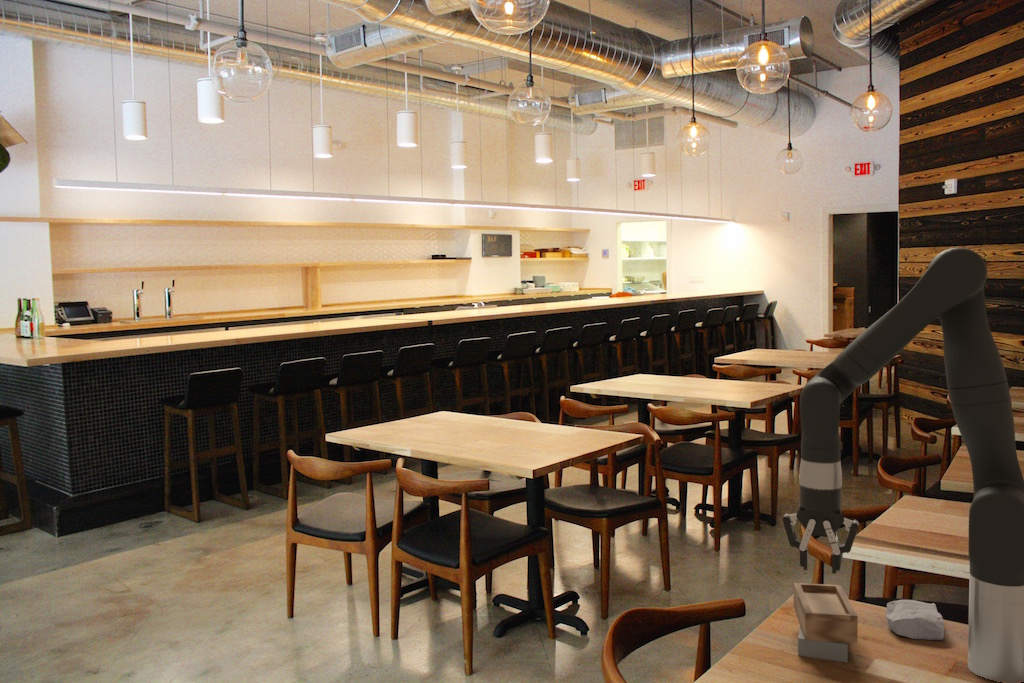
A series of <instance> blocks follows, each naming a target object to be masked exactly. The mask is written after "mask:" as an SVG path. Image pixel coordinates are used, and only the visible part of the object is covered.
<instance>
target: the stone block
mask: <svg viewBox="0 0 1024 683" xmlns="http://www.w3.org/2000/svg"><path fill="white" fill-rule="evenodd" d="M885 619H886V620H887V624H888V627H889V629H890V630H891V631H892V632H893V633H895V634H896V635H898V636H900V637H901V636H903V637H906V638H909V639H911V640H912V639H914V640H928V641H943V640H944V638H945V633H944V632H945V622H944V617H943V616H942V614H941V613H940V612H938V609H937V605H936V604H935V603H934V602H933V603H928V602H924V601H918V600H915V599H898V600H893V601H889V602H887V603H886V610H885Z"/></svg>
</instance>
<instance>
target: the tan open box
mask: <svg viewBox="0 0 1024 683" xmlns="http://www.w3.org/2000/svg"><path fill="white" fill-rule="evenodd" d="M793 609H794V612H795V616H796V618H797V622H798V624H799V628H800V627H801V630H802V633H803V635H804V638H805V640H807V641H822V642H838V643H848V644H856V645H858V628H859V627H858V618H859V616H858V615H857V611H856V610H855V608H854V607H853V605H852V603H851V601H850V600H849V597H848V595H847V593H846V591H845V589H844V588H843V586H842V585H841V584H827V583H826V584H823V583H806V582H805V583H804V582H801V583H800V582H793Z"/></svg>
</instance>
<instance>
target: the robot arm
mask: <svg viewBox="0 0 1024 683" xmlns="http://www.w3.org/2000/svg"><path fill="white" fill-rule="evenodd" d="M987 278H988V267H987V264H986V262H985V259H983V257H982V256H981V255H980V254H979V253H978V252H976V251H974V250H972V249H970V248H966V247H953V248H948V249H945V250H943V251H941V252H939V253H938V254H936V255H935V256H934V257H933V258H932V260H931V261H930V262H929V264H928V266H927V269H926V271H925V272H924V273H923V274H922V275H921V277H920V278H919V280H918V281H917V282H916V283H915V284H914V286H912V288H911V289H910V290H909V291H908V292H907V294H905V295H904V297H903V298H902V299H900V300H899V301H898V303H896V304H895V305H894V306H893V307H892V308H891V309H889V310H888V311H887V312H886V313H885V314H883V315H882V316H881V317H879V319H877V320H876V321H874V322H873V323H872V324H871V325H870V326H868V327H867V328H866V329H865V330H864V331H862V332H861V333H860V334H859V335H858V336H857V337H856V338H855V339H854V340H852V341H851V342H850V343H849V344H848V345H847V346H846V347H845V348H844V349H843V350H842V351H841V352H840V353H839V354H838V355H837V356H836V357H835V359H834V360H833V361H831V362H830V363H829V364H828V365H826V366H825V367H824V368H823V369H821V370H820V371H818V372H817V373H816V374H815V375H814V376H813V377H812V378H810V379H809V380H808V381H807V382H806V384H805V385H804V386H803V388H802V390H801V392H800V396H799V410H800V415H799V416H800V424H801V439H800V440H801V441H800V465H799V476H798V483H799V490H798V491H799V496H798V497H799V499H798V500H799V502H798V503H799V508H798V510H797V512H796V513H790V514H789V513H787V512H786V513H784V515H783V516H782V522H783V525H784V529H785V533H786V537H787V539H788V542H789V546H790V547H791V548H796V549H798V550H799V565H800V567H803V570H804V571H808V569H809V548H808V545H809V542H810V539H811V537H812V536H813V537H816V536H817V537H818V536H820V537H823V538H827V539H828V542H829V543H830V544H829V545H830V546H831V549H832V555H831V556H832V557H831V561H832V562H831V568H832V569H831V572H832V574H837V571H838V572H840V571H841V570H840V569H841V566H842V565H841V562H842V560H841V559H842V556H841V555H842V554H846V553H847V554H849V553H850V552H851V551H852V548H853V544H854V542H855V538H856V535H857V532H858V529H859V525H860V524H859V522H860V521H859V520H857V519H853V520H852V519H849V518H847V517H845V516H844V514H843V511H842V504H843V503H842V502H843V501H842V497H843V496H842V495H843V494H842V491H843V488H842V487H843V486H842V485H843V474H842V473H843V471H842V470H843V469H842V462H841V460H842V459H841V435H840V433H839V432H840V431H839V430H840V428H839V427H840V412H841V411H840V410H841V404H842V403H843V402H844V401H845V399H846V398H848V396H850V395H851V394H852V393H853V392H854V391H855V390H856V389H857V388H858V387H860V386H862V385H864V384H866V383H867V382H868V381H870V380H871V379H872V378H873V377H874V376H876V375H877V374H878V373H879V372H880V371H881V370H882V369H883V368H884V367H886V366H887V365H888V364H889V363H890V362H891V361H892V360H893V359H894V358H895V357H896V356H897V355H899V353H901V352H902V350H904V348H905V347H907V346H908V345H909V344H910V342H912V340H913V339H915V338H916V337H917V336H918V335H919V334H920V333H921V332H922V331H923V330H924V329H925V328H927V327H928V326H929V325H930V324H931V323H933V322H934V321H935V320H936V319H938V318H939V322H940V325H941V326H940V327H941V331H942V332H941V333H942V342H943V359H944V370H945V378H946V385H947V390H948V391H947V392H948V397H949V401H950V407H951V410H952V413H953V417H954V419H955V420H954V421H955V423H956V425H957V428H958V431H959V433H960V436H961V437H962V440H963V443H964V445H965V447H966V450H967V453H968V455H969V460H970V461H969V462H970V465H971V473H972V482H973V484H972V486H973V499H972V501H971V504H970V506H969V509H968V510H969V512H968V552H967V554H968V561H969V575H968V576H969V585H968V586H969V587H968V588H969V589H968V629H967V630H968V631H967V632H968V634H967V636H968V638H967V667H968V670H969V671H970V672H971V673H973V674H974V675H975V676H977V675H978V676H977V677H979V676H981V677H980V678H982V677H984V678H986V679H985V680H987V679H991V680H995V681H1000V682H1006V683H1017V682H1021V681H1024V476H1023V472H1022V469H1021V466H1020V463H1019V458H1018V455H1017V445H1016V431H1015V428H1016V427H1015V420H1014V412H1013V404H1012V398H1011V393H1010V388H1009V382H1008V377H1007V375H1006V370H1005V366H1004V363H1003V360H1002V357H1001V354H1000V351H999V348H998V346H997V343H996V341H995V339H994V336H993V333H992V332H991V329H990V328H991V327H990V326H989V325H990V324H989V321H988V314H987V307H986V298H985V285H986V282H987ZM797 520H798V521H799V523H800V525H802V526H801V527H802V528H803V529H804V533H803V536H802V538H801V539H799V538H797V534H796V530H795V527H794V526H795V525H796V522H797ZM842 525H844V526H845V531H846V532H847V536H846V539H845V541H844V543H843V544H840V542H839V539H838V534H837V531H838V530H839V529H840V527H841V526H842ZM984 678H983V679H984Z"/></svg>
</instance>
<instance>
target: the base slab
mask: <svg viewBox="0 0 1024 683" xmlns="http://www.w3.org/2000/svg"><path fill="white" fill-rule="evenodd" d="M798 630H799V631H798V636H797V637H798V639H797V641H798V643H797V656H800V657H801V656H802V657H807V658H815V659H820V660H828V661H834V662H841V663H842V662H843V663H849V662H848V661H849V660H848V659H849V658H848V654H849V651H848V650H849V649H848V647H849V643H838V642H822V641H807V640H805V638H804V635H803V633H802V630H801V627H800V626H799V629H798Z"/></svg>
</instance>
